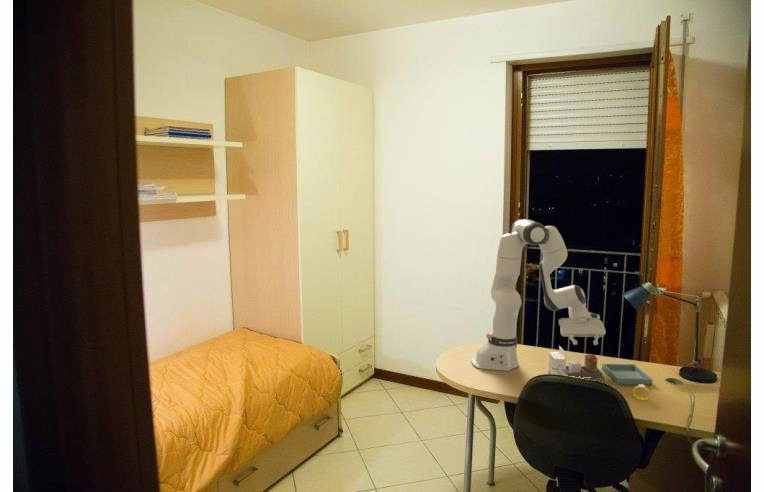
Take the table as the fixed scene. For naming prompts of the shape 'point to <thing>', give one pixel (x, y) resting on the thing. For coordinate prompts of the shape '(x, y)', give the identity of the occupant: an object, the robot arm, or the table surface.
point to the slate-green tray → (626, 374)
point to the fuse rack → (584, 373)
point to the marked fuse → (590, 364)
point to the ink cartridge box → (557, 362)
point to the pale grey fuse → (574, 366)
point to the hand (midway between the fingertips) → (585, 344)
